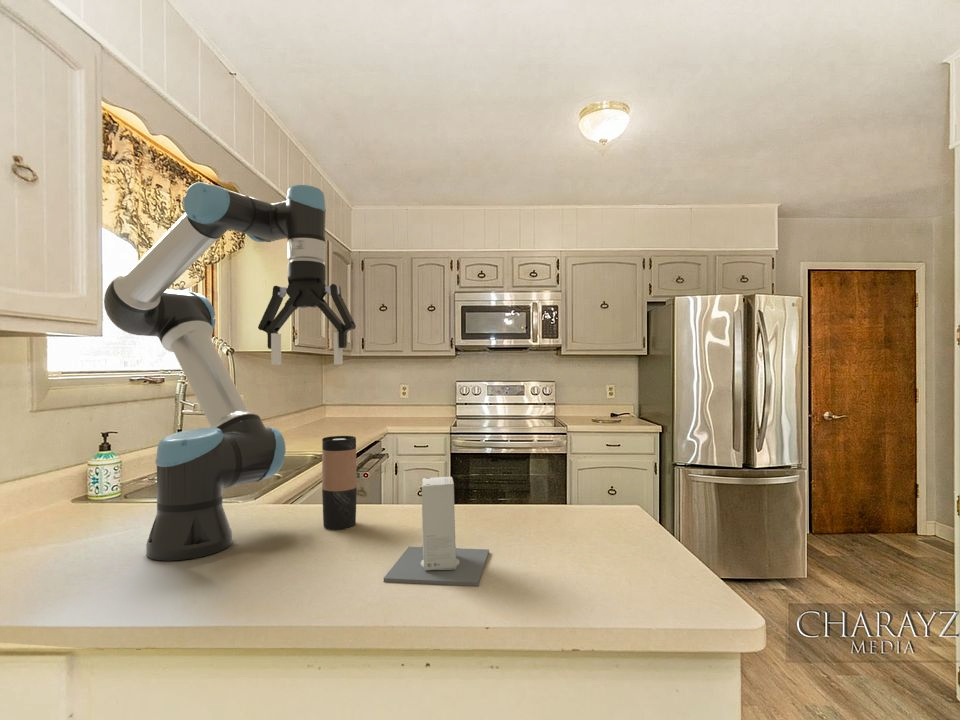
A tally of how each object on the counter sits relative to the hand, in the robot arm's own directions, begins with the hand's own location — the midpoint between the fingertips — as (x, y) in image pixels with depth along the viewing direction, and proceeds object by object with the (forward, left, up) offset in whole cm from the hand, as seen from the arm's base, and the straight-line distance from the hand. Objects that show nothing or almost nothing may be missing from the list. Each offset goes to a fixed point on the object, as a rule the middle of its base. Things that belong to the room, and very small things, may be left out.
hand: (307, 364), depth 111 cm
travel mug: (+2, +12, -37) cm, 39 cm away
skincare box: (+30, -10, -36) cm, 48 cm away
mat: (+30, -10, -37) cm, 48 cm away
